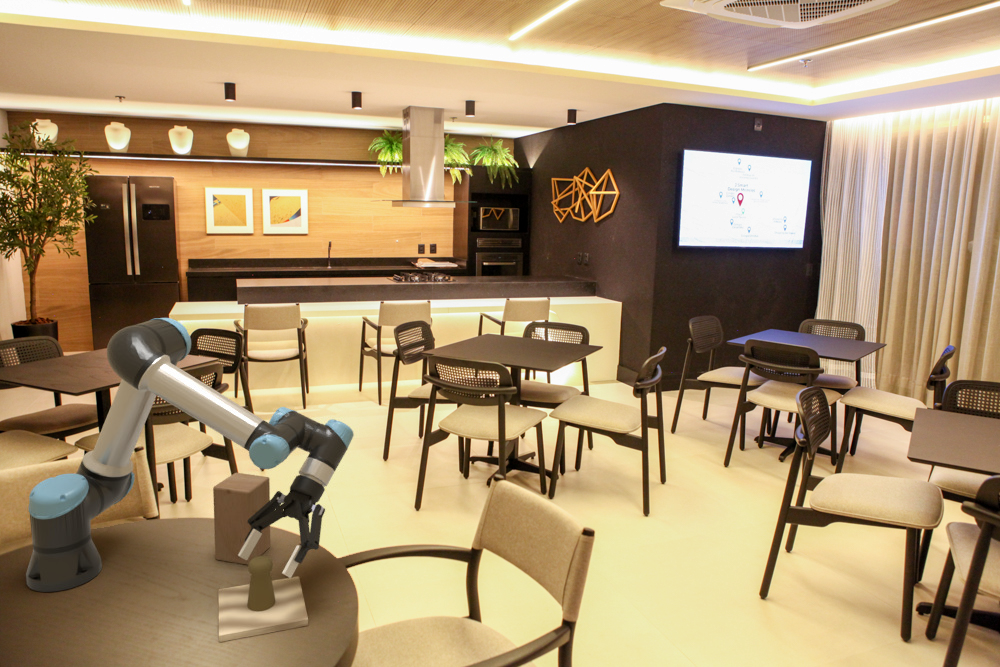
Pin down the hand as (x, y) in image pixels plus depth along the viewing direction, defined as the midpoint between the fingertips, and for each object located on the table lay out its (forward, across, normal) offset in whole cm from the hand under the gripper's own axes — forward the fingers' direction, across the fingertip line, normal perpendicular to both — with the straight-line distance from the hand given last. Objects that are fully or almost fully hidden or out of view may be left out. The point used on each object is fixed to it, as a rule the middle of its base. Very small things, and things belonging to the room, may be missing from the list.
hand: (263, 566), depth 149 cm
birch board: (+8, 0, -7) cm, 10 cm away
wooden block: (-3, +23, -18) cm, 29 cm away
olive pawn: (+7, 0, -6) cm, 9 cm away
